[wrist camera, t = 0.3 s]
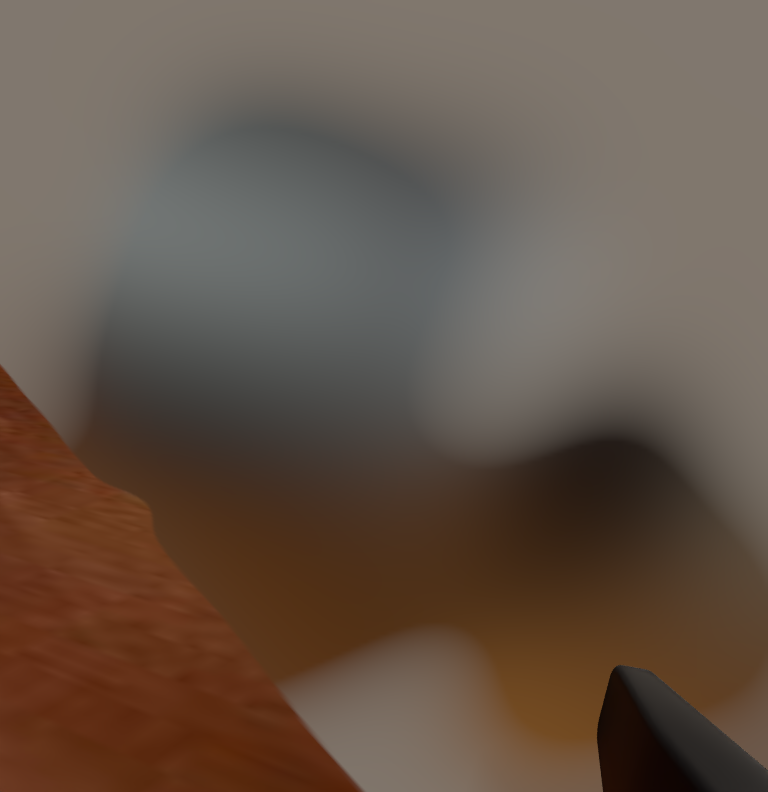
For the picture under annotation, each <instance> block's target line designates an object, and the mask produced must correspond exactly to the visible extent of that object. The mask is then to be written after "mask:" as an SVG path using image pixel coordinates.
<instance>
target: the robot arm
mask: <svg viewBox="0 0 768 792" xmlns="http://www.w3.org/2000/svg"><path fill="white" fill-rule="evenodd" d="M597 731H598V732H597V743H598V752H599V760H600V769H601V777H602V786H603V792H768V770H767V769H766V768H764V767H763V766H762V765H761V764H759V762H757V761H756V760H755V759H754V758H753V757H751V756H750V755H749V754H748V753H747V752H746V751H744V750H743V749H742V748H741V747H740V746H739V745H737V744H736V743H735V742H734V741H732V740H731V739H730V738H729V737H728V736H727V735H726V734H724V733H723V732H722V731H721V730H720V729H718V728H717V727H716V726H715V725H714V724H712V723H711V722H710V721H709V720H708V719H707V718H705V717H704V716H703V715H702V714H701V713H699V712H698V711H697V710H696V709H695V708H694V707H692V706H691V705H690V704H689V703H688V702H687V701H685V700H684V699H683V698H682V697H681V696H679V695H678V694H677V693H676V692H675V691H673V690H672V689H671V688H670V687H669V686H668V685H667V684H665V683H664V682H663V681H662V680H661V679H659V678H658V677H657V676H656V675H655V674H653V673H652V672H651V671H648V670H645V669H640V668H634V667H629V666H623V665H618V666H616V667H615V668H614V669H613V671H612V673H611V675H610V679H609V683H608V686H607V690H606V694H605V698H604V702H603V706H602V710H601V713H600V717H599V722H598V729H597Z"/></svg>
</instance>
